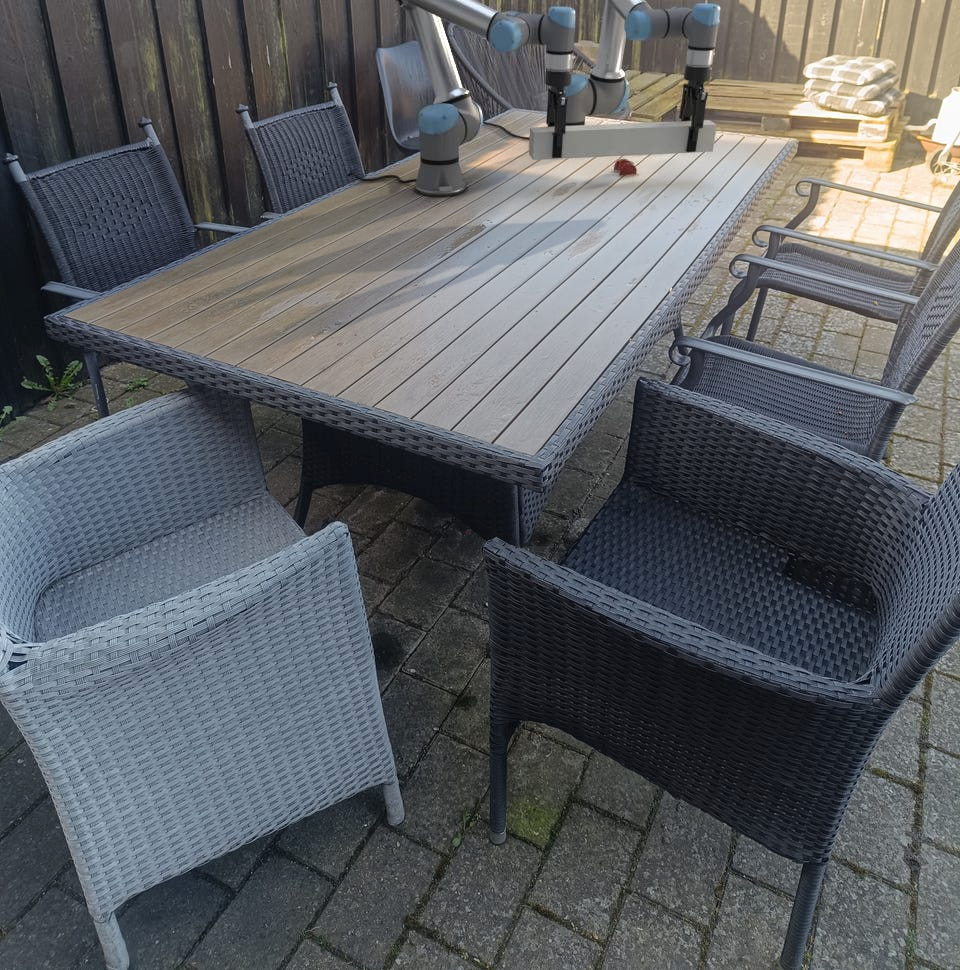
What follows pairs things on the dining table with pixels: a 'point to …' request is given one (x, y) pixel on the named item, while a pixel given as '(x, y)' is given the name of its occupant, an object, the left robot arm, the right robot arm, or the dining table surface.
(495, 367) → the dining table surface
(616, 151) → the beam
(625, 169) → the red rounded lump
